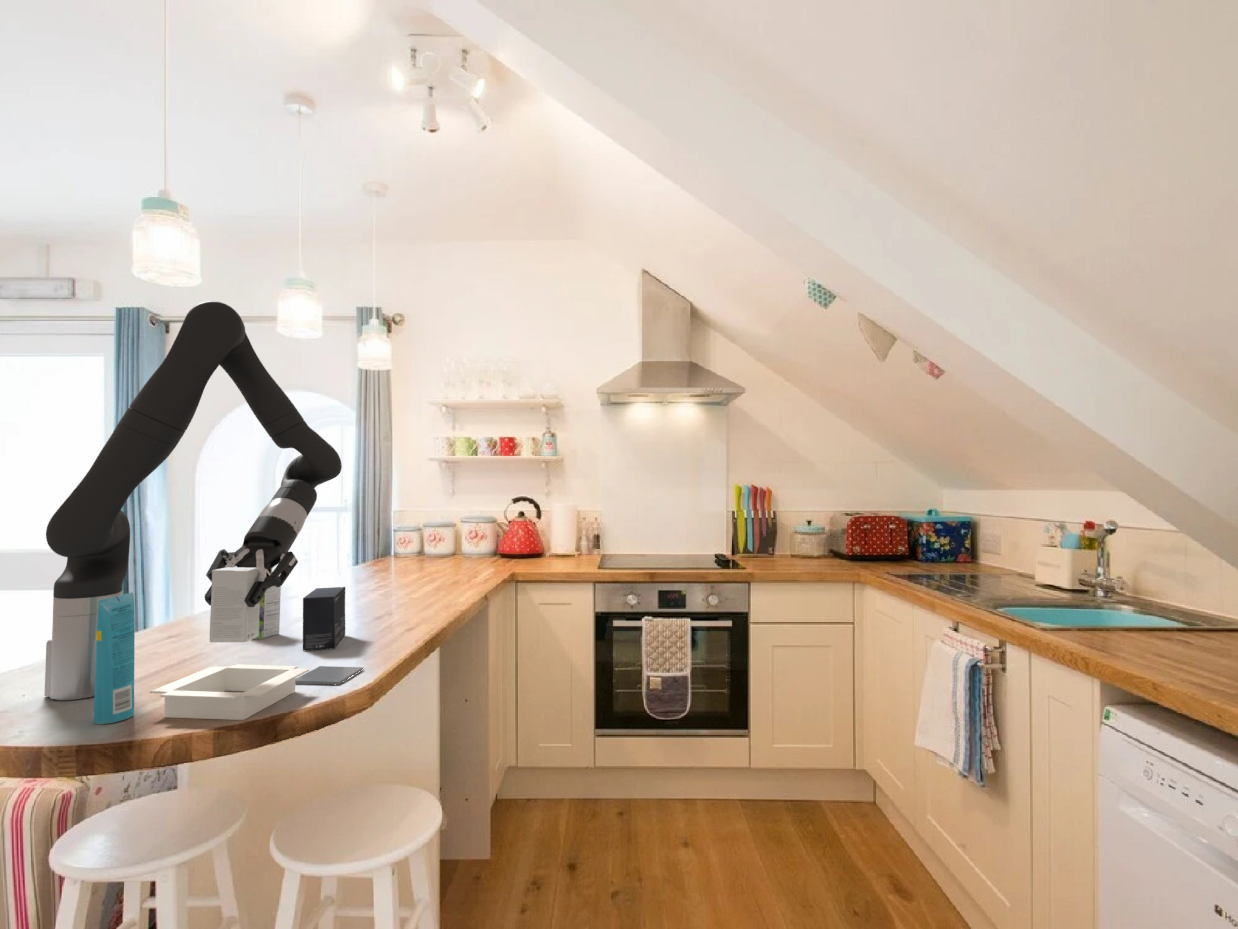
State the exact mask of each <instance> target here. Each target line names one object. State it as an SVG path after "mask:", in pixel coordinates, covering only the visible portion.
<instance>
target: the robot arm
mask: <svg viewBox="0 0 1238 929" xmlns="http://www.w3.org/2000/svg"><path fill="white" fill-rule="evenodd" d="M219 366H220V367H221V369H223V370H224V372H225V373H226V374H227V375H228V376H229V378H230V379H231V380H232V381H233V383H234V384H235V386H236V387H237V388H238V390H239V392H240V393H241V395H242V396H243V398H244V400H245V402H246V403H247V406H249V408H250V410H251V411H252V413H253V414H254V416H255V418H256V419H257V421H258V422H259V423H260V425H261V426H262V428H263V429H264V431H265V432H266V433H267V435H268V436H269V437H270V438H271V440H272V442H273V443H274V444H275V445H276V446H277V447H278V448H280V449H294V450H295V451H297V452H298V453H299V454H300V455H298V456H297V457H295V458H293V459H292V460H291V461H290V462H289V464H288V465H287V467H286V468H285V471H284V473H283V477H282V479H281V483H280V487H279V488H278V490H277V491H276V492H275V494H274V495H273V496H272V498H271V499H270V501H269V502H268V504H266V506H265V507H264V508H263V509H262V510H261V512H259V515H258V516H257V517H256V519H255V521H254V522H253V523H252V524H251V527H250V528H249V529H248V531H247V533H246V534H245V535H244V538H243V543H242V545H241V547H239V548H238V549H236V550H235V551H233V552H232V551H231V552H228V551H227V550H226V549H225V548H223V549H220V550H219V551H218V553H217V554H216V556H215V558H214V560H213V562H212V564H211V565H210V566H209V568H208V571H207V573H206V575H205V576H206V577H207V578H208V580H209V581H210V582H211V583H212V571H213V570H216V569H221V568H226V567H246V568H254V567H256V568H258V582H255V583H254V585H253V586H252V588H251V589H250V591H249V593H248V594H247V596H246V598H245V600H244V601H245V603H246V604H247V606H248V607H255V605H256V604H258V603H259V602H260V600H261V598H262V596H263V595H264V593H265V592H266V590H268V589H270V588H271V587H272V586H276V587H280V586H281V587H282V586H283V585H284V583H285V581H286V580H287V578H288V577H289V576H290V575H291V573H292V571H293V570H294V569H295V567H296V566H297V564H298V562H299V561H298V559H297V557H296V555H295V554H294V552H292V551H290V549H291V547H292V546H293V544H294V543H295V541H296V539H297V537H298V536H299V534H300V532H301V531H302V529H303V527H304V525H305V522H306V519H307V518H308V516H309V514H310V513H311V511H312V509H313V508H314V506H315V504H316V501H317V499H318V493H317V490H316V487H317V486H319V485H322V484H324V483H326V482H328V481H329V482H330V481H331V480H333V479H335V478H337V477H338V476H339V475H340V474H341V471H342V466H343V465H342V461H341V457H340V455H339V454H338V452H337V450H336V449H335V448H334V447H333V446H332V445H331V444H329V442H328V441H326V440H325V439H324V438H323V437H322V436H321V435H319V434H318V432H316V431H315V430H313V428H311V426H309V425H308V423H307V422H306V421H305V419H304V418H303V416H302V415H301V413H300V412H299V410H298V408H297V407H296V406H295V405H294V403H293V402H292V400H291V399H290V397H289V396H288V395H287V394H286V393H285V392H284V390H283V388H281V387H280V386H279V384H278V383H277V382H276V381H275V379H274V378H273V377H272V375H271V374H270V373H269V371H268V370H267V369H266V367H265V366H264V364H263V363H262V361H261V360H260V358H259V357H258V354H257V353H256V351H255V349H254V347H253V345H252V343H251V341H250V339H249V337H248V335H247V332H246V327H245V324H244V321H243V320H242V317H241V316H240V314H238V312H237V311H236V310H235V309H234V308H233V307H232V306H230V305H228V304H226V303H224V302H220V301H215V300H211V301H210V300H209V301H208V300H207V301H203V302H200V303H198V304H196V305H194V306H193V307H192V308H190V309H189V311H188V312H187V314H186V316H184V320H183V321H182V324H181V327H180V329H179V331H178V333H177V335H176V337H175V340H174V341H173V343H172V344H171V347H170V349H169V351H168V353H167V354H166V356H165V358H164V359H163V361H162V362H161V364H160V365H159V367H157V369H156V370H155V371H154V372H153V373H152V375H151V376H150V377H149V379H148V380H147V381H146V382H145V384H144V385H143V387H141V389H140V390H139V392H138V393H137V395H136V396H135V397H134V398H133V400H132V401H131V403H130V404H129V406H128V408H127V409H126V411H125V412H124V414H123V415H122V417H121V418H120V420H119V421H118V423H117V424H116V427H115V428H114V429H113V432H112V433H111V434H110V436H109V438H108V439H107V441H106V442H105V444H104V445H103V447H102V449H101V451H100V452H99V453H98V455H97V457H96V458H95V460H94V462H93V463H92V465H91V466H90V468H89V470H88V471H87V473H86V474H85V476H84V477H83V478H82V479H81V481H80V482H79V483H78V485H77V486H76V487H75V488H74V489H73V491H72V492H71V493H70V494H69V496H67V498H66V499H65V500H64V501H63V503H61V505H60V506H59V507H58V508H57V510H56V511H55V512H54V514H52V516H51V517H50V520H49V521H48V524H47V525H46V530H45V538H46V539H45V540H46V542H47V545H48V546H49V549H50V550H51V551H52V552H54V554H56V555H58V556H61V557H64V558H66V566H65V567H64V570H63V571H62V573H61V575H60V576H58V578H57V579H56V580H55V582H54V583H53V594H52V595H53V598H52V599H53V601H52V604H53V605H52V630H51V632H52V633H51V639H48V640H47V642H46V645H45V672H44V674H45V676H44V697H49V699H50V700H53V699H58V700H57V701H71V700H72V701H73V700H79V699H86V698H92V697H95V669H96V633H97V614H98V600H102V599H106V598H111V597H116V596H120V595H123V582H124V580H125V578H126V576H127V573H128V569H129V560H130V559H129V556H130V546H131V526H130V521H129V518H128V516H127V515H126V514H125V512H124V511H123V510H122V509H123V507H124V505H125V504H126V502H127V500H128V499H129V497H130V496H131V495H132V493H133V491H135V489H136V488H137V487H138V486H139V485H140V484H141V483H142V482H143V481H144V480H145V479H146V478H148V477H149V476H150V475H151V474H152V473H153V472H155V470H156V469H157V468H159V467H160V465H162V464H163V463H164V462H165V461H166V459H168V457H169V456H170V455H171V454H172V452H174V450H175V448H176V447H177V446H178V444H179V442H180V440H181V439H182V438H183V436H184V434H185V433H186V431H187V430H188V427H189V426H190V425H191V422H192V420H193V418H194V415H195V413H196V412H197V408H198V407H199V404H200V402H201V399H202V396H203V394H204V390H205V389H206V386H207V384H208V382H209V380H210V379H211V378H212V377H211V376H213V374H214V373H215V372H216V370H217V368H218V367H219ZM274 567H275V568H274ZM273 568H274V569H273ZM278 576H279V577H278ZM211 591H212V584H211V585H210V587H209V588H208V590H207V591H206V593H205V594H204V600H205V602H206V603H207V605H209V606H211Z"/></svg>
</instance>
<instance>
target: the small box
mask: <svg viewBox="0 0 1238 929" xmlns="http://www.w3.org/2000/svg"><path fill="white" fill-rule="evenodd" d="M345 635H346V586H336V587H335V586H334V587H319V588H315V589H314V590H312V591H311V592H309V593H308V594H306V595H305V596H304V597H303V598H302V651H303V650H309V651H322V650H325V651H326V650H335V649H336V647H337V646H338V645H339V644H340V642H341V641H342V639H343V638H344V637H345Z"/></svg>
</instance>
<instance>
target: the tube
mask: <svg viewBox="0 0 1238 929" xmlns="http://www.w3.org/2000/svg"><path fill="white" fill-rule="evenodd" d="M134 596H135V595H134V593H133V592H132V591H131V592H127V593H124V594H122V595H120V596H116V597H111V598H106V599H102V600H98V614H97V633H96V669H95V696H94V699H93V700H94V701H93V702H94V703H93V723H94V724H95V725H108V724H109V725H110V724H114V723H118V722H121V721H124V720H127V719H130V718H132V717H133V716H134V714H135V634H136V633H135V631H136V630H135V597H134Z"/></svg>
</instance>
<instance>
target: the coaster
mask: <svg viewBox="0 0 1238 929" xmlns="http://www.w3.org/2000/svg"><path fill="white" fill-rule="evenodd" d="M362 669H363V670H364V666H362V667H361V666H359V667H358V666H331V665H330V666H329V665H328V666H326V665H319V666H317V667H316V668H314V669H312V670H309V671H308V672H306V673H304V674H302V675H300V676H298V677H296V678H295V685H314V684H323V685H322V686H326V685H325V684H328V685H327V686H330V685H329V684H333V685H332V686H340V685H341V684H340V683H342V682H343V681H345V680H347V679H348V678H349V677H351V676H352V675H355V674H356V673H358V672H359V671H361V670H362ZM361 672H362V671H361ZM358 674H359V673H358ZM356 675H357V674H356ZM356 675H355V676H356ZM351 678H352V677H351ZM348 680H349V679H348ZM348 680H347V681H348ZM345 682H346V681H345ZM343 683H344V682H343ZM343 683H342V684H343ZM335 684H336V685H335ZM339 684H340V685H339Z"/></svg>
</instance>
